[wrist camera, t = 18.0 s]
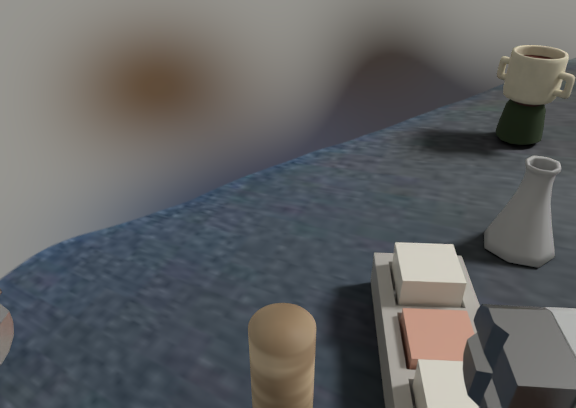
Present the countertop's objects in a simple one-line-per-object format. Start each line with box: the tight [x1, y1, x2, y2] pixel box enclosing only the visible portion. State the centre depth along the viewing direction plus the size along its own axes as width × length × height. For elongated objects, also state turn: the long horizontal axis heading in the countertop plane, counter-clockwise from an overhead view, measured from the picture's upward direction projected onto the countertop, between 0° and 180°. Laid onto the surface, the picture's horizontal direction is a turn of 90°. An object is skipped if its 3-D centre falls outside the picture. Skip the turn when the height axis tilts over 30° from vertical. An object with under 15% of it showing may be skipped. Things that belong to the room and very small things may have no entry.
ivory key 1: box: [392, 242, 467, 308], centre depth 43 cm, size 5×5×3 cm
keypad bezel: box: [371, 253, 480, 408], centre depth 39 cm, size 8×21×4 cm, turn 177°
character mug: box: [496, 45, 575, 145], centre depth 72 cm, size 11×7×13 cm, turn 37°
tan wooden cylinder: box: [248, 303, 316, 408], centre depth 31 cm, size 4×4×13 cm
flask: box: [484, 155, 561, 268], centre depth 51 cm, size 7×7×10 cm
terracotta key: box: [399, 308, 474, 370], centre depth 39 cm, size 5×5×3 cm
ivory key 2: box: [412, 359, 479, 408], centre depth 33 cm, size 5×5×3 cm
